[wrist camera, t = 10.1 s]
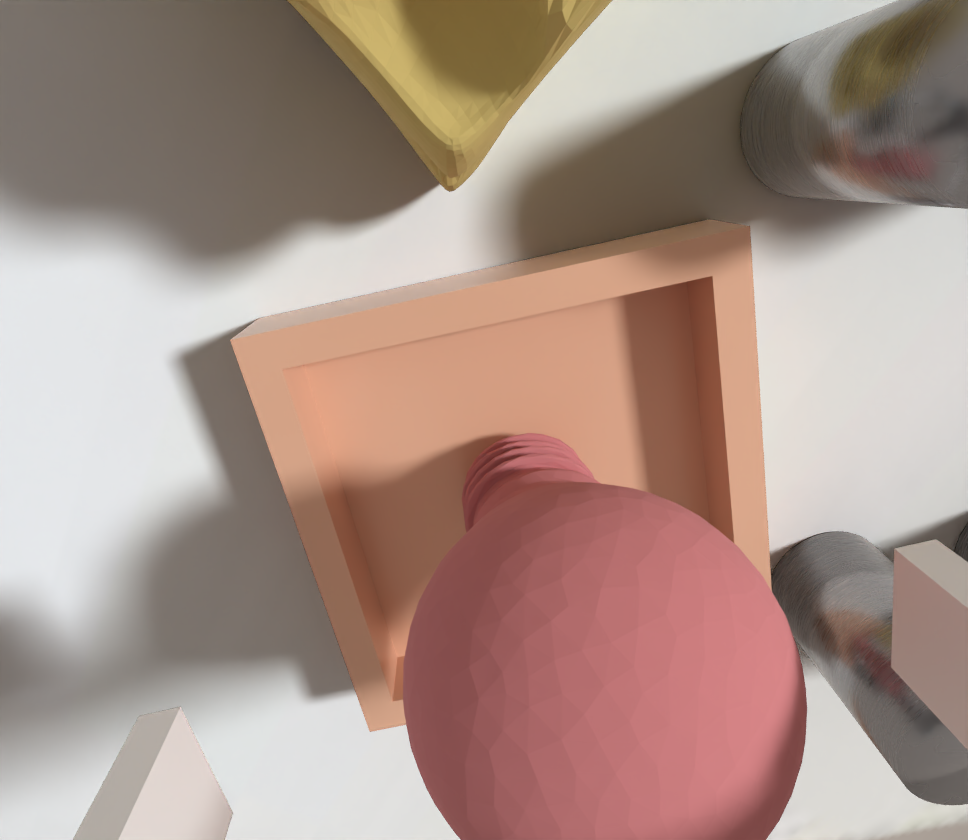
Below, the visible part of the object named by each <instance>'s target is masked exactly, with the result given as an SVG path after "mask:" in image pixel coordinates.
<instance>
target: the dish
mask: <svg viewBox="0 0 968 840" xmlns="http://www.w3.org/2000/svg"><path fill="white" fill-rule="evenodd" d="M230 341H231V344H232V347H233V350H234V353H235V355H236V358H237V361H238V364H239V367H240V369H241V372H242V375H243V378H244V381H245V383H246V386H247V389H248V392H249V395H250V397H251V400H252V403H253V406H254V409H255V411H256V414H257V417H258V420H259V423H260V425H261V428H262V431H263V434H264V437H265V439H266V442H267V445H268V448H269V451H270V453H271V456H272V459H273V462H274V465H275V467H276V470H277V473H278V476H279V479H280V481H281V484H282V487H283V490H284V493H285V495H286V498H287V501H288V504H289V507H290V509H291V512H292V515H293V518H294V521H295V523H296V526H297V529H298V532H299V535H300V537H301V540H302V543H303V546H304V549H305V551H306V554H307V557H308V560H309V563H310V565H311V568H312V571H313V574H314V577H315V579H316V582H317V585H318V588H319V591H320V593H321V596H322V599H323V602H324V605H325V607H326V610H327V613H328V616H329V619H330V622H331V624H332V627H333V630H334V633H335V636H336V638H337V641H338V644H339V647H340V650H341V652H342V655H343V658H344V661H345V664H346V666H347V669H348V672H349V675H350V678H351V680H352V683H353V686H354V689H355V692H356V694H357V697H358V700H359V703H360V706H361V708H362V711H363V714H364V717H365V720H366V722H367V725H368V728H369V731H370V732H372V731H377V730H381V729H386V728H391V727H396V726H401V725H406V720H405V715H404V704H403V662H404V657H405V651H406V646H407V641H408V636H409V631H410V626H411V623H412V620H413V617H414V614H415V611H416V608H417V605H418V602H419V600H420V598H421V596H422V594H423V592H424V590H425V588H426V586H427V585H428V583H429V581H430V579H431V577H432V576H433V574H434V572H435V570H436V568H437V567H438V565H439V563H440V562H441V561H442V559H443V558H444V557H445V555H446V554H447V553H448V552H449V550H450V549H451V548H452V547H453V546H454V545H455V544H456V543H457V542H458V541H459V540H460V539H461V538H462V537H463V536H464V535H465V534H466V533H467V532H466V529H465V521H464V512H463V504H462V493H463V486H464V483H465V480H466V475H467V472H468V470H469V469H470V467H471V466H472V464H473V462H474V461H475V459H476V458H477V457H478V456H479V455H480V454H481V453H482V452H483V451H484V450H485V449H486V448H488V447H489V446H491V445H492V444H494V443H495V442H497V441H499V440H502V439H504V438H507V437H510V436H515V435H521V434H526V433H536V434H544V435H547V436H551V437H554V438H557V439H560V440H561V441H563V442H564V443H565V444H567V445H568V446H569V447H571V448H572V449H573V450H574V451H575V452H576V454H577V455H578V457H579V458H580V460H581V461H582V462H583V463H584V464H585V465H586V466H587V468H588V469H589V470H590V471H591V473H592V474H593V476H594V479H595V480H597V481H598V482H600V483H601V484H608V485H616V486H622V487H628V488H634V489H638V490H641V491H645V492H649V493H652V494H655V495H657V496H660V497H662V498H665V499H667V500H670V501H672V502H675V503H677V504H679V505H681V506H682V507H684V508H686V509H688V510H690V511H692V512H693V513H695V514H697V515H699V516H700V517H702V518H703V519H704V520H706V521H707V522H708V523H710V524H711V525H712V526H714V527H715V528H716V529H718V530H719V531H720V532H721V533H722V534H724V535H725V536H726V537H727V538H728V539H729V540H731V541H732V542H733V543H734V544H735V545H737V546H738V547H739V548H740V549H741V551H742V552H743V553H744V554H745V555H746V557H747V558H748V559H749V560H750V561H751V563H752V564H753V565H754V566H755V567H756V569H757V570H758V571H759V572H760V573H761V575H762V576H763V577H764V579H765V581H766V582H767V584H768V586H769V588H770V589H771V591H772V587H771V570H770V554H769V537H768V520H767V504H766V487H765V470H764V453H763V437H762V420H761V403H760V387H759V370H758V353H757V337H756V320H755V303H754V287H753V270H752V253H751V236H750V226H746V225H741V224H735V223H729V222H723V221H717V220H712V219H709V220H704V221H699V222H695V223H690V224H686V225H681V226H677V227H672V228H668V229H663V230H658V231H654V232H649V233H645V234H640V235H636V236H631V237H627V238H622V239H617V240H613V241H608V242H604V243H599V244H595V245H590V246H586V247H581V248H576V249H572V250H567V251H563V252H558V253H554V254H549V255H545V256H540V257H536V258H531V259H526V260H522V261H517V262H513V263H508V264H504V265H499V266H495V267H490V268H485V269H481V270H476V271H472V272H467V273H463V274H458V275H454V276H449V277H444V278H440V279H435V280H431V281H426V282H422V283H417V284H413V285H408V286H403V287H399V288H394V289H390V290H385V291H381V292H376V293H372V294H367V295H363V296H358V297H353V298H349V299H344V300H340V301H335V302H331V303H326V304H322V305H317V306H312V307H308V308H303V309H299V310H294V311H290V312H285V313H281V314H276V315H271V316H267V317H262V318H258V319H257V320H256V321H254V322H253V323H252V324H250V325H249V326H248V327H246V328H245V329H244V330H243V331H241V332H240V333H239V334H237V335H236V336H235V337H233V338H232V339H231V340H230Z"/></svg>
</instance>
